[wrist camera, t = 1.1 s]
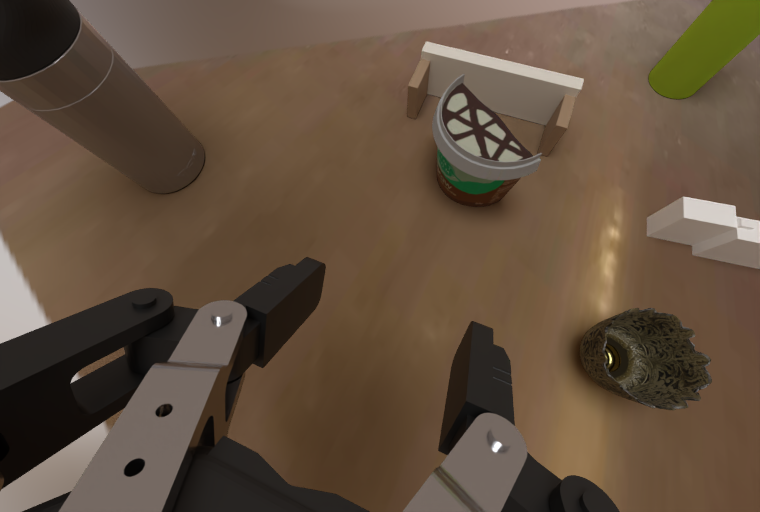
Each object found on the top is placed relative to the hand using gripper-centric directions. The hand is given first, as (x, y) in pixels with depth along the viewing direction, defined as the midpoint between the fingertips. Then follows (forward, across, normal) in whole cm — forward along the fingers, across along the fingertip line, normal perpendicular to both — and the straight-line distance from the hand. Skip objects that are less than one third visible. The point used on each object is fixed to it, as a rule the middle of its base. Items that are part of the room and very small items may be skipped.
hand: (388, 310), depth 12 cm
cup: (+20, -19, +12) cm, 30 cm away
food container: (+30, 0, +2) cm, 30 cm away
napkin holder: (+32, -27, 0) cm, 42 cm away
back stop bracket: (+37, 0, -6) cm, 37 cm away
